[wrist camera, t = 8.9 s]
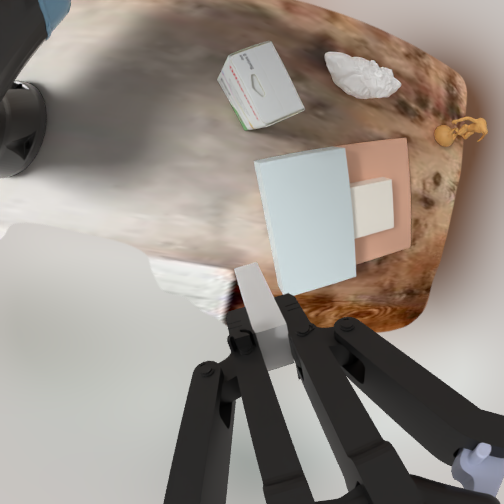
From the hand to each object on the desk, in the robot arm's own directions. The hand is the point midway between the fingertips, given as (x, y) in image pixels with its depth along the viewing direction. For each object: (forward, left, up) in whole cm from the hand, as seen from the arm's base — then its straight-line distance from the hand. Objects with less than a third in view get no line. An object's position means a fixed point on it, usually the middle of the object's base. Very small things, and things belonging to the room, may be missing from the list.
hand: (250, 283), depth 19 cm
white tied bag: (-15, +23, -24) cm, 36 cm away
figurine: (-6, +41, -24) cm, 47 cm away
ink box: (-14, +7, -24) cm, 28 cm away
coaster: (+5, +22, -23) cm, 32 cm away
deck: (+5, +12, -23) cm, 27 cm away
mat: (+5, +25, -23) cm, 34 cm away
